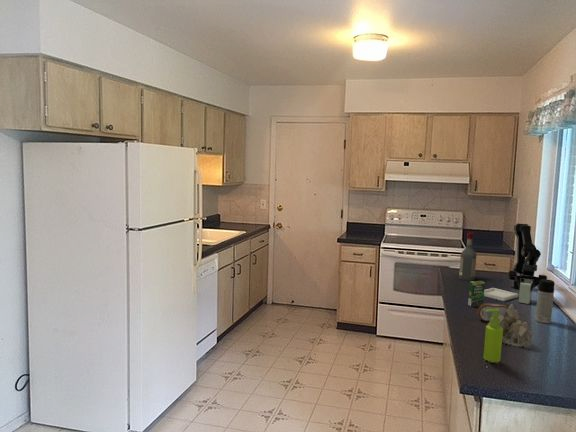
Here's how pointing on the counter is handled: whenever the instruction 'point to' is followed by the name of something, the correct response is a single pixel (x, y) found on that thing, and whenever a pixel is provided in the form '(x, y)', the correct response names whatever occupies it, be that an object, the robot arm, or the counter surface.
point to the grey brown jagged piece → (514, 328)
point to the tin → (486, 315)
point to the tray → (499, 294)
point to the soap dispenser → (493, 338)
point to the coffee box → (476, 293)
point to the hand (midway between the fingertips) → (525, 290)
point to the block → (525, 292)
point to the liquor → (468, 261)
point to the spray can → (544, 301)
